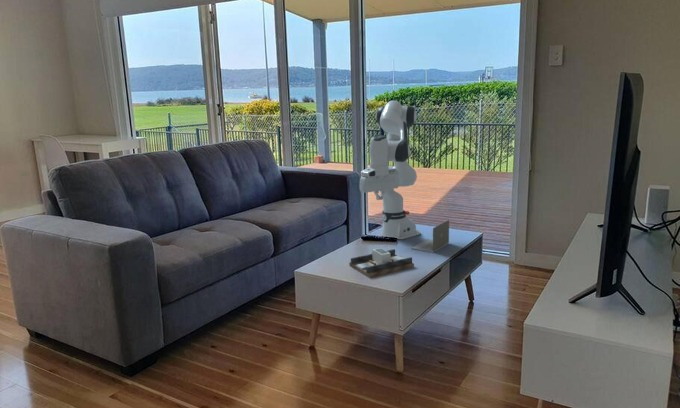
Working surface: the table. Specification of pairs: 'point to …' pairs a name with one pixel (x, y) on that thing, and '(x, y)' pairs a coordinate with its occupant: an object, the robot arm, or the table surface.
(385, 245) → the table surface
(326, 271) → the table surface
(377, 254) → the block
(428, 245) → the laptop
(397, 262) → the rail board
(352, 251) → the table surface
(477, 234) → the table surface
